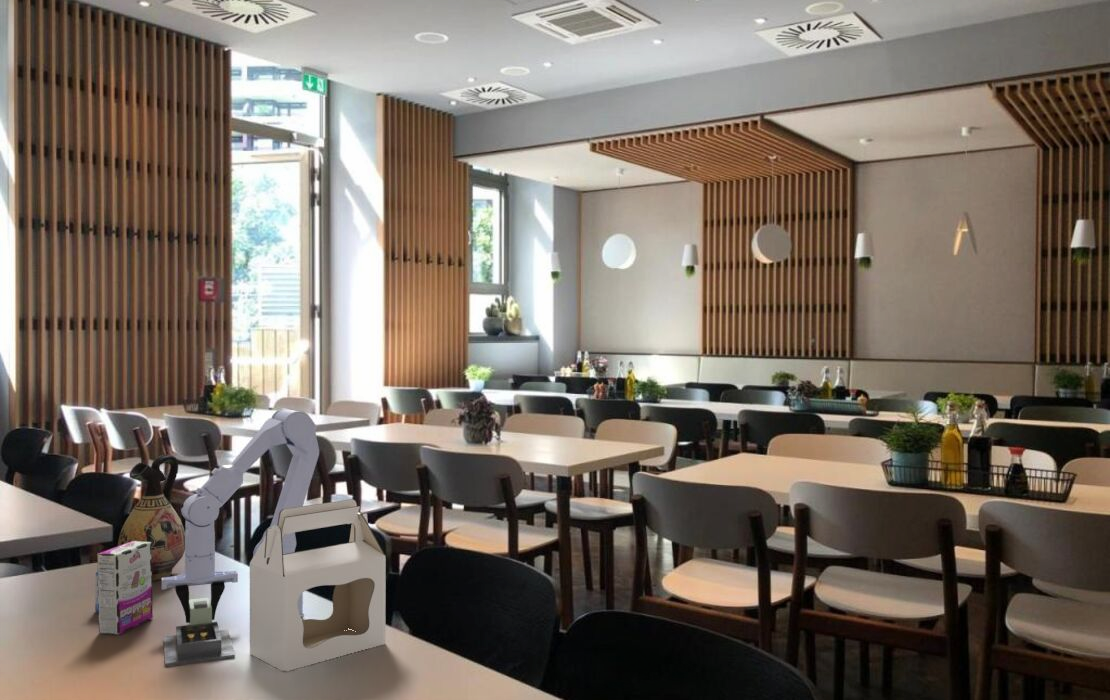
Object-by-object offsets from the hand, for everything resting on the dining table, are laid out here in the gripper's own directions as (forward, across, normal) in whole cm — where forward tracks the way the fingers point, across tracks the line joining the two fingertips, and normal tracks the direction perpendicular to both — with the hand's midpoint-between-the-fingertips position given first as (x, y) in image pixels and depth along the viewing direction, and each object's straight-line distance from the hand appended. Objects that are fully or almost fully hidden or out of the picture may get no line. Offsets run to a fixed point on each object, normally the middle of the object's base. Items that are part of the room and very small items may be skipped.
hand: (200, 620), depth 192 cm
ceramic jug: (+2, -8, +47) cm, 48 cm away
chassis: (+2, -1, -13) cm, 13 cm away
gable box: (+2, +20, -22) cm, 30 cm away
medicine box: (+2, -16, +19) cm, 25 cm away
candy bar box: (+2, -14, +7) cm, 16 cm away
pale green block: (+2, 0, 0) cm, 2 cm away
